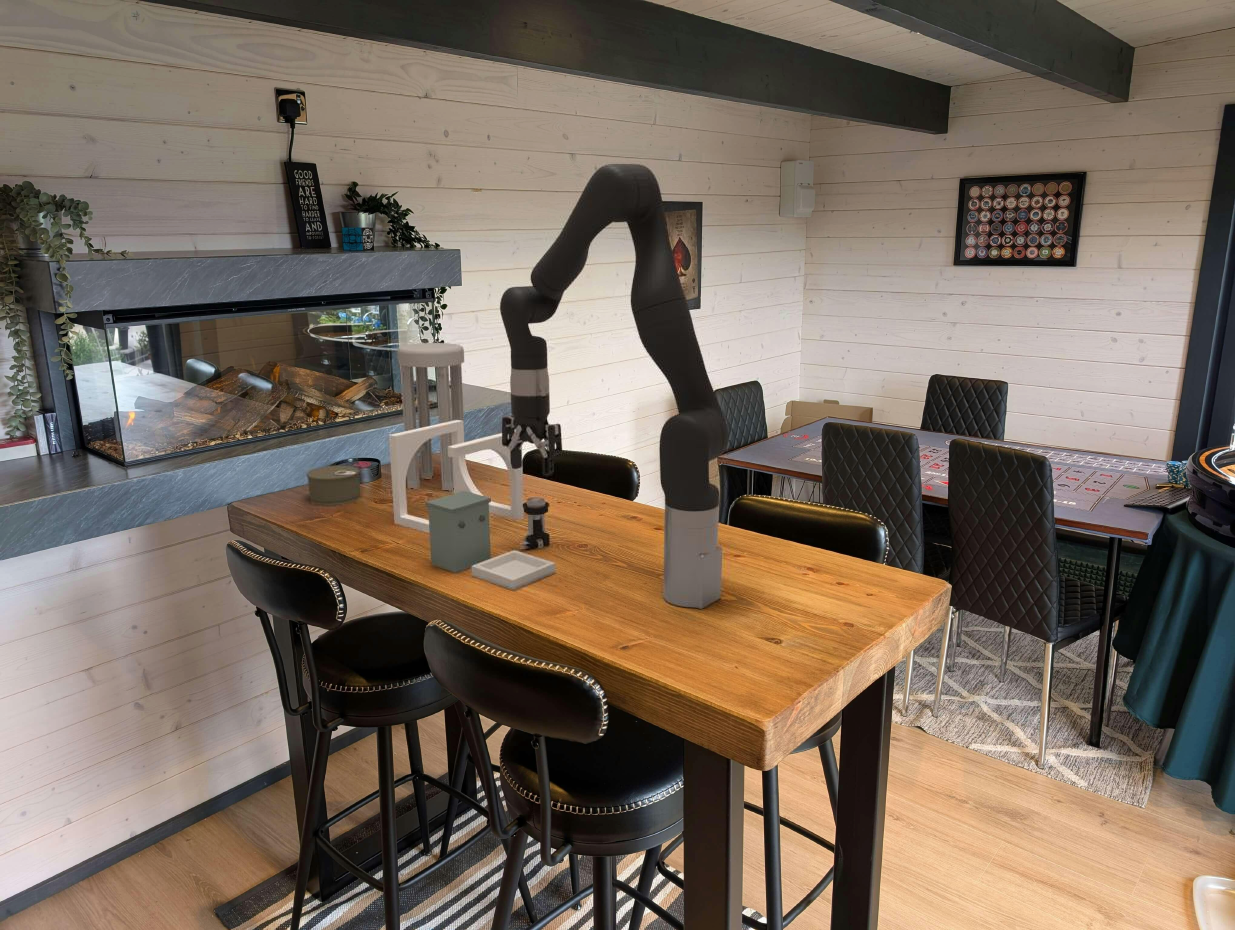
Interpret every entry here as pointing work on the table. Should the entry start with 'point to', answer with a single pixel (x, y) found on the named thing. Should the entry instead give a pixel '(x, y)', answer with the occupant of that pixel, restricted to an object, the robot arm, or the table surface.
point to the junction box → (459, 530)
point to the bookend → (411, 440)
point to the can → (334, 485)
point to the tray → (513, 570)
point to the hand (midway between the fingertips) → (532, 471)
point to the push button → (536, 523)
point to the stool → (421, 359)
